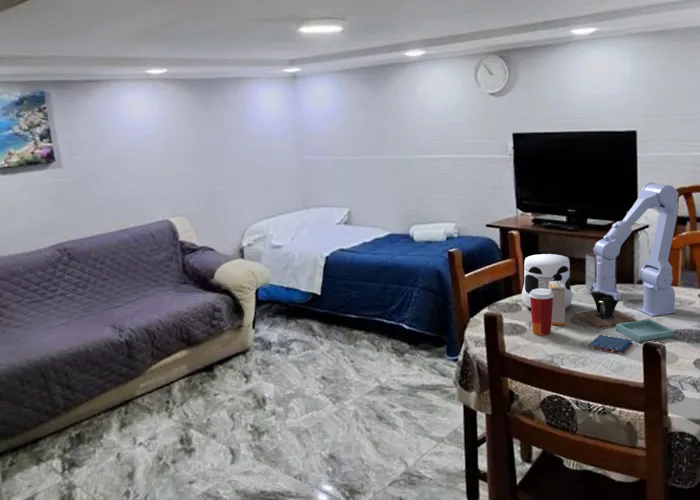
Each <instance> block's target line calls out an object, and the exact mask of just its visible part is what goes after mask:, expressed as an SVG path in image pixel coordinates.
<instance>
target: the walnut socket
mask: <svg viewBox="0 0 700 500" xmlns="http://www.w3.org/2000/svg"><path fill="white" fill-rule="evenodd" d="M574 316H575V317H576V318H578V319H579V320H582V321H584V322H585V323H586V324H589V325H591V326H592V327H594V328H596V329H599V330H600V329H606V328H612V327H616V324H620V323H626V322H633V321H637V319H636V318H633V317H631V316H629V315H627V314H625V313H623V312H621V311H618V310H617V309H615V310H614V313H613V316H612V317H610V319H604V320H602V319H600V313H598V312H597V309H594V310H586V311H578V312H574Z"/></svg>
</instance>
